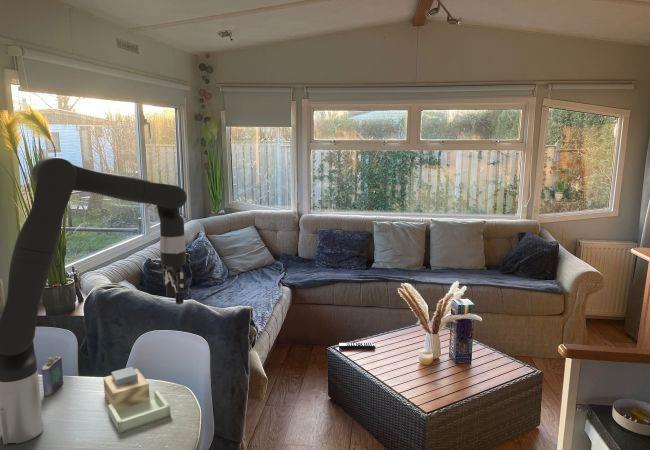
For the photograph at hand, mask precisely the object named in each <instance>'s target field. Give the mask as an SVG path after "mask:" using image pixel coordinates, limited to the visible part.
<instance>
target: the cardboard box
mask: <svg viewBox="0 0 650 450" xmlns="http://www.w3.org/2000/svg"><path fill="white" fill-rule="evenodd" d="M133 369H134V370H135V371H136V373H137V374H138V380H137V381H133V382H130V383H126V384H122V385H119V386H117V385H116V384H115V382H114V381H113V379H112V374H111V375H108V376H104V377H102V378H103V391H104V392H103V393H104V397H105V399H106V400H107V403H108V405H110V404H112V405H113V407H114V408H115V410H116V411H117V410H121V409H124V408H127V407H130V406H133V405H137V404H140V403H143V402H146V401H149V400H150V383H149V382H148V381H147V380H146V378H145V376H144V375H143V374H142V373H141V371H140V370H139V369H138V368H133Z"/></svg>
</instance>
